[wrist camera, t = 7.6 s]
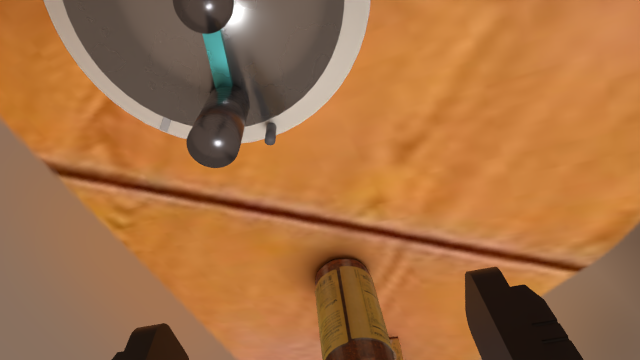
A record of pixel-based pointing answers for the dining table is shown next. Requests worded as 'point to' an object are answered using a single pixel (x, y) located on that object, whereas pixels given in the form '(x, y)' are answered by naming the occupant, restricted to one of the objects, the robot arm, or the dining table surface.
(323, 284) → the sauce bottle
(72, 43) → the stand
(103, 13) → the capstan
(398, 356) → the candy box
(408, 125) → the dining table surface
